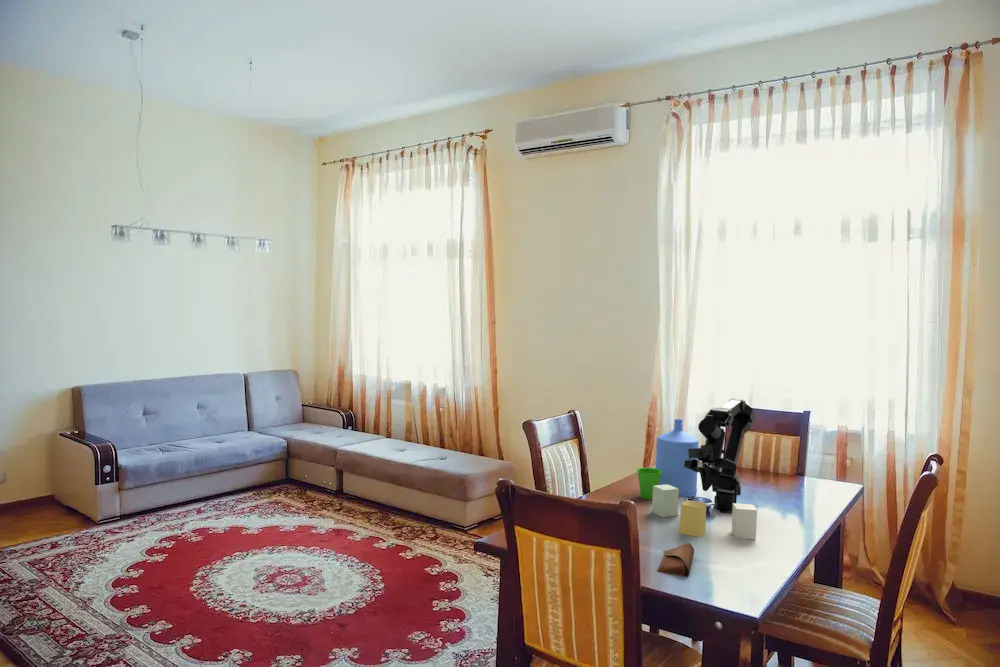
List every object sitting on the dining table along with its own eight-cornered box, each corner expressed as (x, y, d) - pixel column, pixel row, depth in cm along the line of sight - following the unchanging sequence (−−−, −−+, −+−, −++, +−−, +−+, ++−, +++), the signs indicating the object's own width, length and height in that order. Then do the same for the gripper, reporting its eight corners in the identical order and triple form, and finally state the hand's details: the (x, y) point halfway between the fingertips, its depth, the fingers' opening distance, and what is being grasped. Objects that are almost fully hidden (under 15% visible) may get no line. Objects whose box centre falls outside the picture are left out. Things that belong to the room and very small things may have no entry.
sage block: (666, 510, 234) (667, 484, 234) (677, 515, 229) (678, 488, 228) (651, 512, 232) (653, 485, 231) (663, 517, 226) (664, 490, 226)
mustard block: (686, 528, 216) (687, 499, 215) (705, 532, 212) (706, 503, 212) (679, 533, 211) (680, 504, 210) (698, 537, 207) (700, 507, 207)
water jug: (689, 501, 251) (693, 425, 250) (648, 493, 259) (651, 420, 258) (701, 492, 264) (704, 419, 263) (662, 485, 273) (665, 415, 271)
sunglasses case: (663, 549, 199) (676, 532, 197) (684, 565, 197) (697, 547, 196) (656, 572, 182) (670, 552, 180) (679, 589, 180) (693, 570, 179)
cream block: (731, 531, 214) (732, 503, 213) (751, 533, 213) (752, 504, 212) (735, 538, 208) (736, 508, 207) (755, 539, 207) (757, 510, 207)
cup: (661, 504, 245) (662, 474, 245) (635, 502, 247) (636, 472, 246) (660, 498, 254) (661, 468, 253) (635, 495, 256) (636, 466, 255)
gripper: (676, 437, 233) (666, 482, 228) (716, 434, 217) (706, 482, 211) (701, 449, 237) (692, 493, 232) (741, 447, 220) (732, 494, 215)
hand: (704, 490), depth 222 cm, fingers closed
